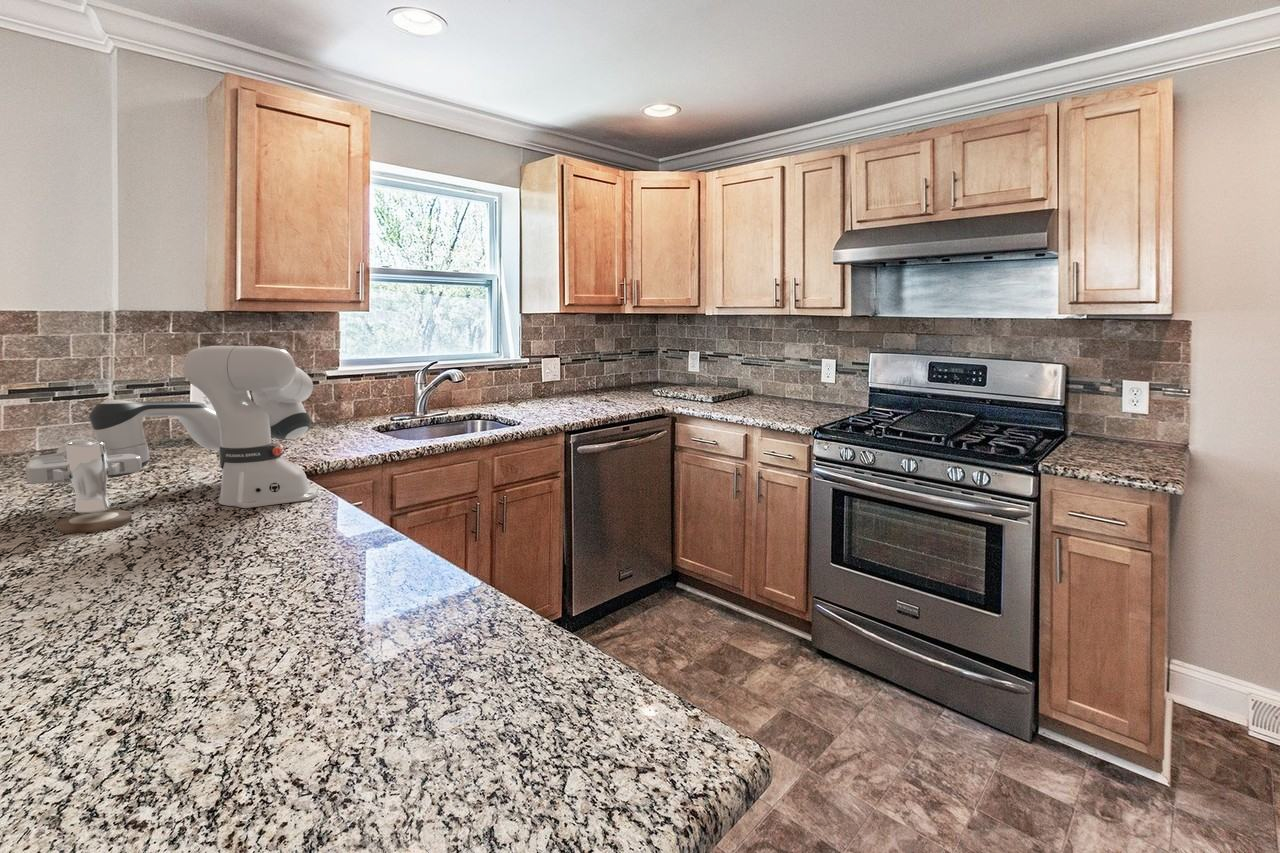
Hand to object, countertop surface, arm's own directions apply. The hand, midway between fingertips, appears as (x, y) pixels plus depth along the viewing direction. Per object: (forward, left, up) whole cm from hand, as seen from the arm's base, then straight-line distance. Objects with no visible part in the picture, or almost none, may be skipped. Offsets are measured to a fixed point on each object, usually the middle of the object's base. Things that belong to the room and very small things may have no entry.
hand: (89, 474), depth 147 cm
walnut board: (0, -1, -12) cm, 12 cm away
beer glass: (0, -1, -8) cm, 9 cm away
